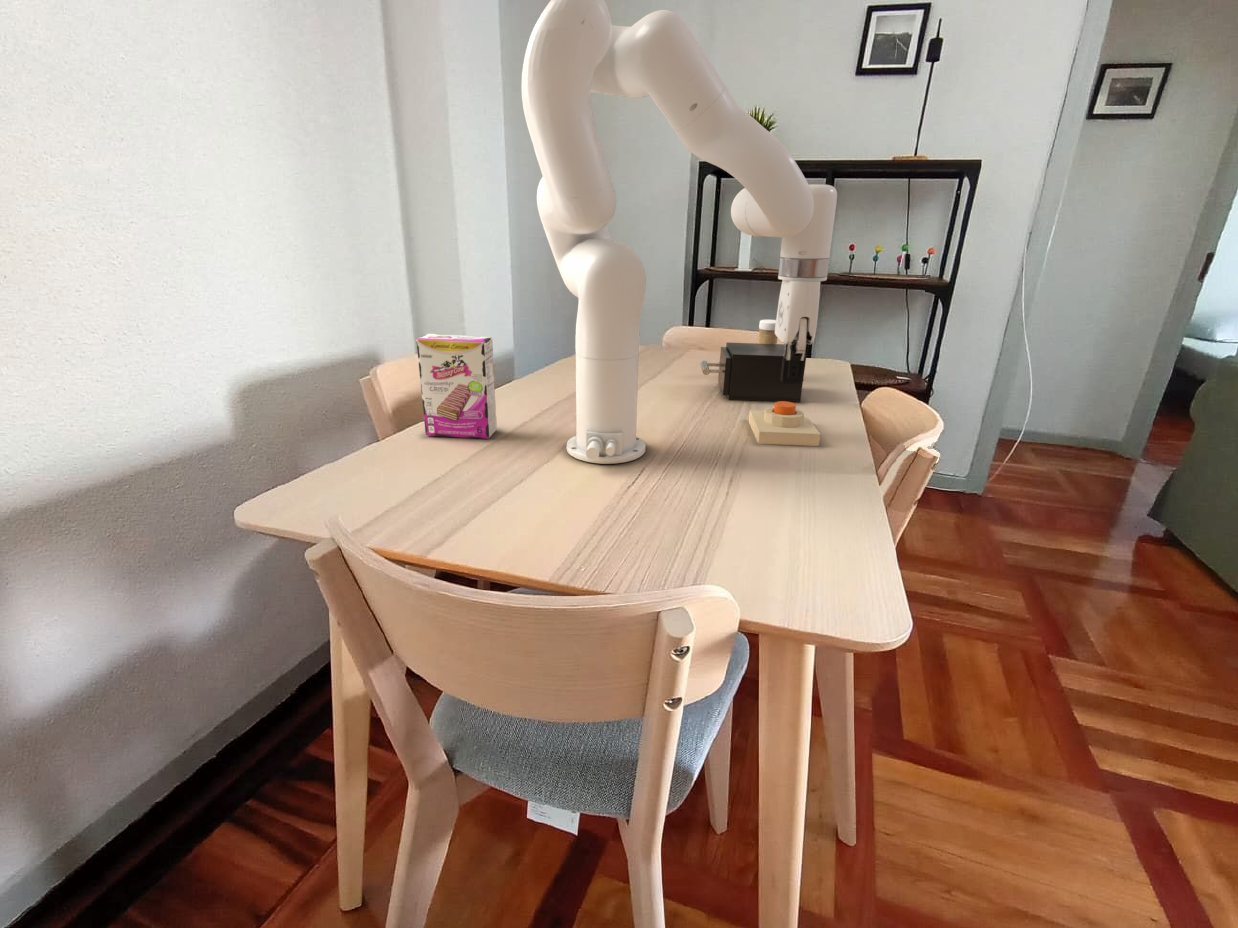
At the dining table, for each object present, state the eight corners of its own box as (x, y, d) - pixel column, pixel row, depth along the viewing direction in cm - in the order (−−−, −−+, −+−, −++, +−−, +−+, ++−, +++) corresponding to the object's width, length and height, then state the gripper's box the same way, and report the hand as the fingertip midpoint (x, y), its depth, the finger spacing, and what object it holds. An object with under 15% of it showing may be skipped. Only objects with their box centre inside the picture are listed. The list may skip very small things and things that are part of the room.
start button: (796, 417, 104) (798, 407, 103) (775, 416, 104) (776, 406, 103) (792, 411, 107) (793, 401, 107) (771, 410, 107) (773, 400, 107)
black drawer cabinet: (728, 400, 126) (732, 354, 122) (722, 385, 137) (726, 342, 134) (800, 403, 125) (806, 356, 121) (788, 387, 137) (793, 344, 133)
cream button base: (818, 446, 101) (822, 423, 100) (757, 443, 102) (760, 421, 100) (803, 423, 112) (806, 402, 111) (748, 421, 113) (750, 400, 111)
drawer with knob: (701, 394, 126) (704, 357, 123) (698, 380, 137) (701, 346, 134) (788, 397, 125) (793, 360, 122) (778, 383, 136) (783, 348, 133)
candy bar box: (424, 437, 102) (413, 338, 95) (435, 427, 106) (426, 333, 100) (490, 440, 101) (483, 341, 95) (498, 430, 105) (492, 335, 99)
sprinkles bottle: (752, 379, 143) (758, 321, 138) (755, 375, 147) (761, 318, 142) (772, 381, 141) (779, 322, 136) (774, 377, 145) (781, 319, 140)
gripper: (771, 266, 104) (761, 371, 111) (788, 274, 90) (775, 394, 97) (816, 266, 103) (803, 372, 110) (839, 274, 90) (823, 395, 97)
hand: (790, 382), depth 104 cm, fingers closed
